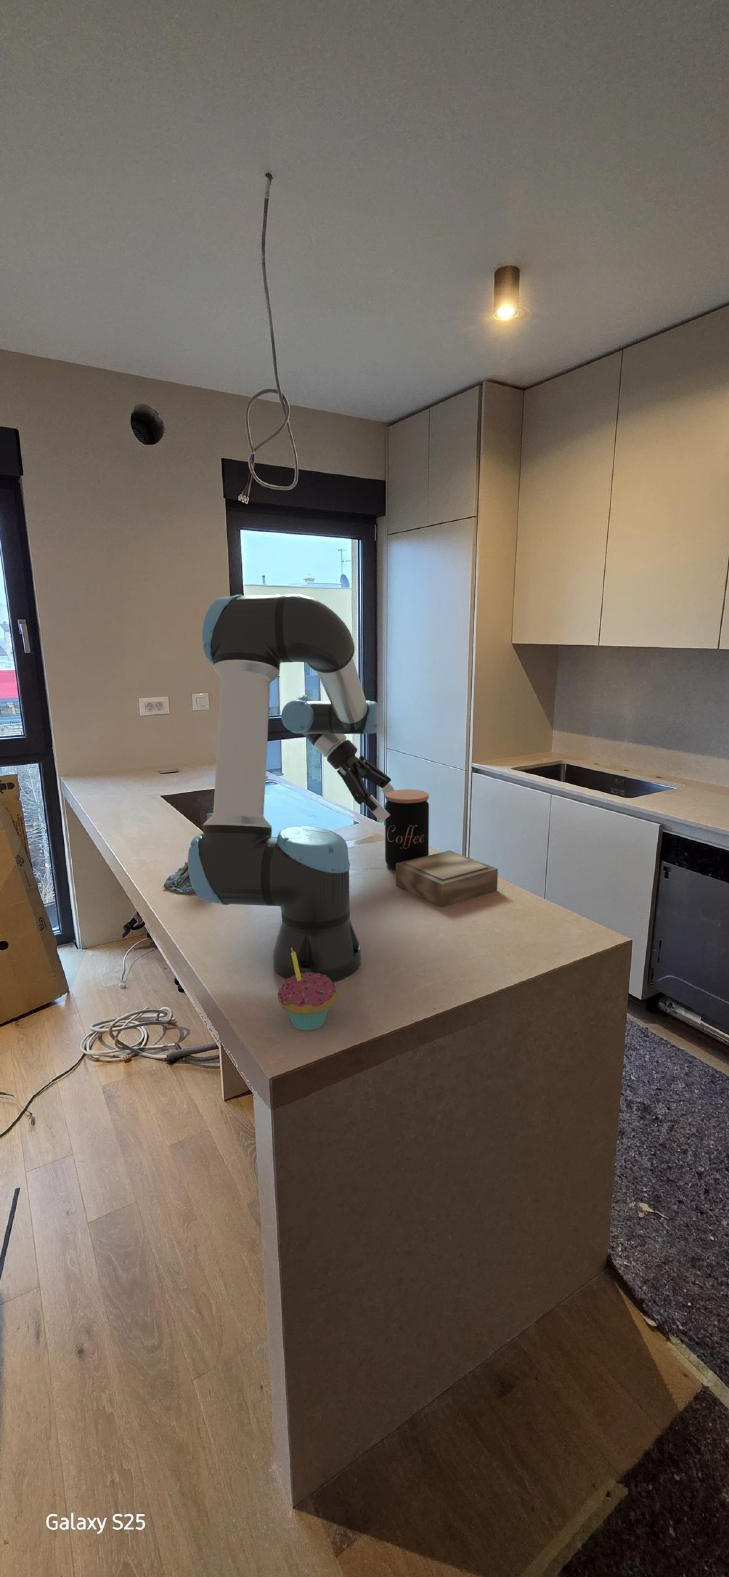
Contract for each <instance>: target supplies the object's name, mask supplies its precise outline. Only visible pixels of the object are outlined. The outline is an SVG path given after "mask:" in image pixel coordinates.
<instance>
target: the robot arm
mask: <svg viewBox="0 0 729 1577" xmlns="http://www.w3.org/2000/svg"><path fill="white" fill-rule="evenodd" d="M201 631H202V632H201V641H202V642H203V646H202V648H203V653H204V655H205V657H206V659H207V661H209V662H210V663H212V664H213V666H212V669H213V671H214V673H215V674H217V676H219V678H220V693H219V694H220V695H219V696H220V697H219V711H218V714H219V715H218V728H217V746H216V762H215V764H216V766H215V777H214V779H215V781H214V797H213V812H212V813H213V815H212V816H211V817H210V818H209V819H208V820H207V819H206V821H205V822H204V823H203V826H202V827H203V829H202V833H199V834H197V835H195V836H194V837H193V838H192V840H191V842H190V847H189V848H188V853H187V862H188V871H189V877H190V881H191V884H192V887H193V888H194V891H195V893H196V894H195V895H196V896H197V898H199V899H200V900H202V901H204V902H206V903H213V904H221V905H224V906H229V905H238V906H239V905H240V906H241V905H242V906H264V907H265V906H269V907H280V912H281V924H280V926H279V927H280V928H279V931H278V934H277V936H276V937H277V938H276V940H275V945H274V949H273V952H272V953H273V954H272V960H273V961H272V962H273V964H272V965H273V968H274V971H275V972H276V973H277V974H278V975H279V976H280V977H282V978H284V979H285V980H286V979H288V978H290V977H292V976H294V975H296V974H295V969H294V964H293V960H292V955H291V953H292V950H291V948H292V949H293V952H296V957H297V961H298V966H299V970H300V973H302V972H303V973H305V972H312V973H320V974H322V975H326V977H328V978H329V979H330V980H331V981H332V982H335V981H338V980H341V979H344V978H346V977H349V976H350V975H351V974H353V973H355V972H356V971H357V970H358V969H359V967H360V965H361V963H362V956H361V955H362V953H361V952H362V950H361V945H360V943H359V940H358V937H357V934H356V932H355V929H354V926H353V923H352V920H351V913H350V912H351V911H350V910H351V909H350V907H351V906H350V901H351V900H350V868H351V863H350V860H349V849H348V844H347V842H346V840H345V839H344V837H342V836H341V835H340V834H337V832H335V831H332V830H329V829H326V828H322V827H317V826H310V825H309V826H307V825H306V826H305V825H299V826H289V827H286V828H283V829H281V830H280V831H279V832H278V834H277V836H275V837H274V836H272V833H273V832H272V831H273V825H271V824H270V822H269V821H268V820H266V818H265V815H264V814H265V794H266V793H265V792H266V777H267V776H266V773H267V758H268V756H267V755H268V737H269V721H270V720H269V716H270V700H271V699H270V698H271V697H270V696H271V684H272V682H273V681H274V680H276V679H277V678H278V677H279V676H280V670H281V669H280V668H281V663H306V664H307V665H308V667H310V669H312V670H313V671H314V672H316V674H317V675H318V677H319V680H320V682H321V684H322V687H323V689H324V692H325V694H326V696H327V698H328V700H329V701H327V700H326V701H325V700H324V701H323V700H319V701H315V700H313V699H312V698H311V697H310V696H309V695H306V694H304V695H301V696H299V697H297V698H296V699H292V700H290V701H289V702H287V703H286V704H284V706H283V708H282V710H281V714H280V717H281V722H282V724H283V726H284V727H285V728H286V729H287V730H288V731H290V732H291V733H293V734H301V735H303V736H304V737H305V738H306V739H307V740H308V741H309V742H310V743H311V745H312V746H313V747H314V748H315V749H316V752H317V753H320V755H322V756H323V757H324V758H326V761H327V762H328V763H329V764H330V765H331V767H332V768H333V769H334V770H336V772H337V774H338V775H339V777H340V778H341V779H342V781H343V782H344V784H345V785H346V788H347V789H348V791H349V793H350V794H351V796H352V797H353V799H354V801H355V802H356V803H357V804H358V805H360V806H361V805H362V804H364V806H366V807H367V808H368V810H370V812H371V813H372V814H373V815H374V817H375V818H376V819H377V820H378V821H379V822H380V823H384V822H385V819H386V818H388V817H389V816H390V814H389V813H388V812H387V811H386V810H385V807H384V806H383V805H382V804H381V803H380V802H379V800H377V799H376V798H375V796H374V795H373V794H371V795H370V793H369V791H368V789H367V786H366V784H365V782H364V779H365V780H367V781H368V782H370V783H372V784H374V785H375V786H378V787H379V788H381V791H382V793H383V794H384V795H385V794H386V793H387V792H390V791H394V790H396V789H395V787H394V786H393V785H392V784H391V783H390V782H391V781H392V778H391V777H389V776H388V775H387V774H386V773H385V772H383V771H382V770H381V769H380V768H378V767H377V766H375V765H374V764H373V763H371V762H370V761H369V760H368V759H367V758H365V757H364V756H365V755H360V756H359V757H357V755H356V754H357V752H358V748H357V747H356V746H355V744H353V743H352V742H351V740H350V739H347V736H346V735H365V734H366V735H369V734H375V733H377V732H378V731H379V728H380V717H381V716H380V714H381V713H380V706H379V703H378V702H377V701H373V700H372V701H371V700H367V699H366V696H365V693H364V689H363V687H362V684H361V680H360V677H359V674H358V671H357V668H356V664H355V661H354V656H355V648H356V646H355V642H354V638H353V635H352V632H351V631H350V629H349V628H348V626H347V624H346V623H345V621H344V620H342V619H341V617H340V616H339V615H338V614H337V613H336V612H334V611H333V610H332V609H331V608H329V606H327V605H325V603H322V602H321V601H319V600H317V599H315V598H312V597H311V596H307V595H303V594H297V593H293V594H292V593H291V594H281V595H280V594H275V595H274V594H272V595H269V594H268V595H266V594H265V595H263V594H262V595H242V594H236V595H232V596H222V597H219V598H216V599H215V600H214V601H213V602H212V603H211V604H210V605H209V607H208V608H207V610H206V613H205V615H204V619H203V624H202V630H201Z"/></svg>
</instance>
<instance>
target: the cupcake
mask: <svg viewBox="0 0 729 1577" xmlns="http://www.w3.org/2000/svg"><path fill="white" fill-rule="evenodd" d="M291 950H292V953H291V955H292V960H293V964H294V969H295V974H296V975H294V976H292V977H290V978H288V979H286V978H285V980H284V981H283V983H282V984H281V985H280V986H279V988H278V989H279V990H278V992H277V995H278V996H277V998H278V999H277V1000H278V1003H279V1004H280V1007H281V1008H282V1009H284V1010H286V1012H287V1014H288V1017H289V1019H290V1021H291V1025H292V1027H294V1028H295V1029H297V1030H299V1031H305V1032H306V1031H307V1032H308V1031H314V1030H317V1029H319V1028H321V1027H322V1026H323V1025H324V1023H325V1021H326V1019H327V1018H326V1016H327V1014H328V1012H329V1009H331V1008H333V1007H335V1004H336V1001H337V1000H338V996H339V995H338V989H337V987H336V985H335V982H334V981H331V980H330V979H329V978H328V977H326V975H322V974H320V973H312V972H305V973H303V972H302V973H300V970H299V966H298V961H297V957H296V952H293V949H292V948H291Z"/></svg>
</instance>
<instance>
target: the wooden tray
mask: <svg viewBox="0 0 729 1577" xmlns="http://www.w3.org/2000/svg"><path fill="white" fill-rule="evenodd" d="M498 870H499V869H498V868H497V867H495V866H491V865H489V864H486V863H484V862H481V861H478V860H476V859H473V858H471V857H468V856H465V855H463V854H460V853H457V852H456V851H453V850H445V851H441V852H438V853H433V854H429V856H424V857H420V858H416V859H412V860H408V861H404V862H400V863H396V870H395V885H396V886H398V887H401V888H403V889H405V890H407V891H409V892H411V893H412V894H415V895H416V896H419V897H420V898H422V899H424V900H426V901H429V902H430V903H433V904H435V905H436V906H439V907H440V908H443V907H447V906H449V905H452V904H453V905H454V904H456V903H460V902H462V901H466V900H469V899H473V898H476V897H480V896H482V895H486V894H489V893H492V892H495V891H498V878H499V876H498V874H499V872H498Z"/></svg>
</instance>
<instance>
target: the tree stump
mask: <svg viewBox="0 0 729 1577" xmlns="http://www.w3.org/2000/svg"><path fill="white" fill-rule="evenodd" d="M212 815H213V812H207V813H206V818H207V819H206V821H207V820H208V819H209V818H210V817H211V816H212ZM163 886H164V887H165V888H167V889H168V890H169V891H170V892H172V893H176V894H179V895H181V894H182V895H197V894H196V893H195V891H194V888H193V887H192V884H191V881H190V877H189V871H188V861H184V865H183V866H182V867H179V868H178V869H177V871H176V872H175V873H173V874H171V875H169V876H167V878H166V879H165V882H164V884H163Z"/></svg>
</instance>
